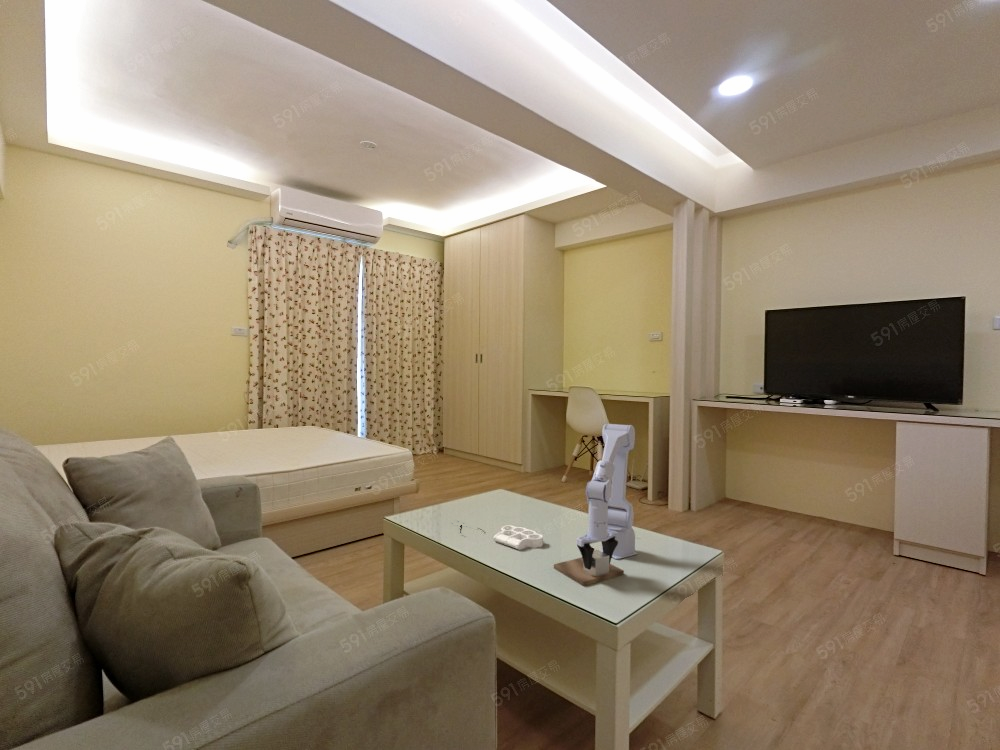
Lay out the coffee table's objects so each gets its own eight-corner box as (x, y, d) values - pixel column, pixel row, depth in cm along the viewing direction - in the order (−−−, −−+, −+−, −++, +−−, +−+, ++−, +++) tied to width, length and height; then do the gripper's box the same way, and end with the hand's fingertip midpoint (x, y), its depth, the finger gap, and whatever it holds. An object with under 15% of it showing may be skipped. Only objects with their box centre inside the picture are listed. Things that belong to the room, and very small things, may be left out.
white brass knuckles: (486, 540, 171) (513, 531, 182) (524, 554, 159) (550, 543, 169) (487, 531, 171) (513, 522, 182) (524, 544, 159) (551, 534, 169)
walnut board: (592, 558, 155) (592, 542, 155) (623, 574, 143) (623, 557, 143) (553, 568, 147) (554, 551, 147) (583, 586, 135) (583, 568, 135)
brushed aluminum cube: (596, 566, 146) (596, 549, 146) (609, 573, 141) (609, 555, 141) (583, 570, 143) (583, 552, 143) (595, 577, 138) (595, 559, 138)
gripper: (606, 513, 149) (605, 556, 149) (570, 520, 141) (570, 565, 141) (622, 520, 143) (622, 564, 143) (586, 527, 135) (585, 574, 135)
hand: (597, 565), depth 142 cm, fingers open, 7 cm apart
